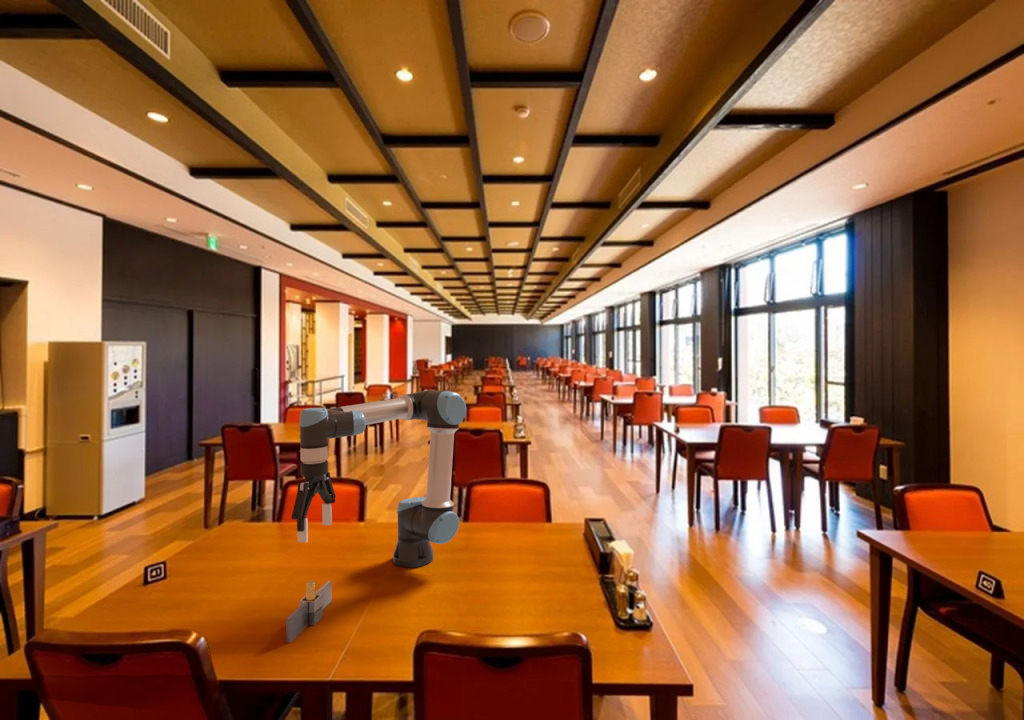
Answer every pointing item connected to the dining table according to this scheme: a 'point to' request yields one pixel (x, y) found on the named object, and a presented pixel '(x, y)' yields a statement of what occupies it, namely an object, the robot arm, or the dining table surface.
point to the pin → (311, 591)
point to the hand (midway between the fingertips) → (315, 533)
